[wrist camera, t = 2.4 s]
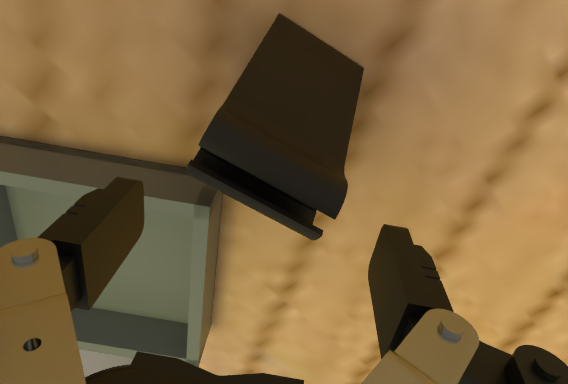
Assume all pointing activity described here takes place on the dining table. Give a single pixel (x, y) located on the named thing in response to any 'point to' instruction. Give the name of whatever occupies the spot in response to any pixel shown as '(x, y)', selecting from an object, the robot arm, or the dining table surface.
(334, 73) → the phone stand
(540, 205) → the dining table surface
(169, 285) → the tray
